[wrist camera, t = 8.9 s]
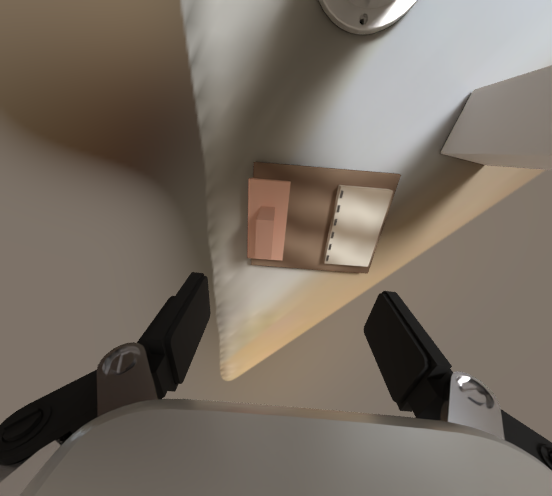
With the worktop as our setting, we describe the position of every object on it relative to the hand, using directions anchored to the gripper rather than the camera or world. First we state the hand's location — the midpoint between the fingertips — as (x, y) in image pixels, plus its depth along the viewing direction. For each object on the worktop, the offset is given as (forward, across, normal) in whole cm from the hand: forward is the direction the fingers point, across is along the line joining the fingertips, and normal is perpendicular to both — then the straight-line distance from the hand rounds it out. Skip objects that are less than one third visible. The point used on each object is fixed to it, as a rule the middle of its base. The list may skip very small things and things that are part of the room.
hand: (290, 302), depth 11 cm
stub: (+20, +2, +3) cm, 20 cm away
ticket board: (+22, -5, +3) cm, 23 cm away
